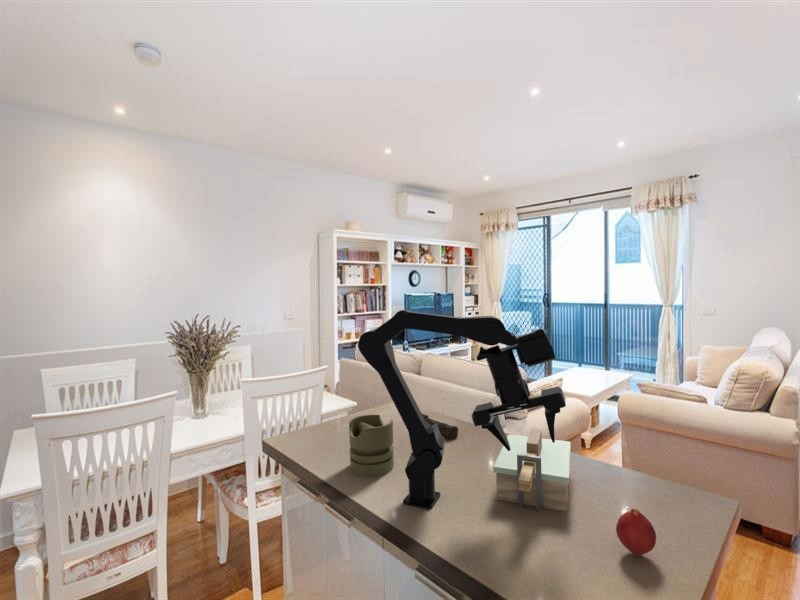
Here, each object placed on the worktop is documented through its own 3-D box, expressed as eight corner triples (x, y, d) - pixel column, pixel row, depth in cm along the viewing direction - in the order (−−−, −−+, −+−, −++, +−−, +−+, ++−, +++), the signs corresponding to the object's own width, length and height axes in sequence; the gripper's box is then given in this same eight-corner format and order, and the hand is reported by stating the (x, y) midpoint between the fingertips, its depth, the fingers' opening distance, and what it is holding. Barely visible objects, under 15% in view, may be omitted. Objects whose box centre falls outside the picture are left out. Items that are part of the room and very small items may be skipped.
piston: (375, 412, 113) (401, 421, 104) (376, 454, 113) (402, 467, 104) (340, 420, 106) (365, 431, 97) (342, 466, 106) (366, 481, 97)
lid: (569, 488, 81) (568, 458, 81) (493, 476, 87) (493, 448, 87) (570, 450, 100) (570, 425, 100) (508, 442, 106) (508, 419, 106)
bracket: (541, 511, 82) (540, 458, 82) (517, 507, 84) (516, 455, 84) (542, 509, 83) (541, 456, 82) (518, 505, 84) (517, 453, 84)
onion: (620, 539, 72) (619, 495, 72) (658, 552, 68) (658, 505, 68) (613, 556, 68) (612, 509, 67) (653, 571, 64) (652, 521, 64)
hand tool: (459, 438, 125) (459, 423, 125) (449, 441, 123) (449, 425, 123) (420, 423, 140) (420, 410, 140) (411, 425, 138) (411, 412, 138)
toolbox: (566, 511, 82) (566, 482, 81) (496, 499, 87) (496, 471, 87) (568, 471, 100) (568, 446, 100) (510, 462, 105) (510, 439, 105)
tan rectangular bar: (529, 491, 75) (529, 481, 75) (518, 490, 76) (518, 479, 75) (536, 462, 88) (536, 453, 87) (527, 460, 88) (527, 451, 88)
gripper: (551, 354, 88) (575, 422, 88) (471, 375, 95) (493, 439, 94) (551, 366, 78) (579, 443, 77) (461, 389, 84) (485, 460, 84)
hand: (531, 446), depth 83 cm, fingers open, 9 cm apart
